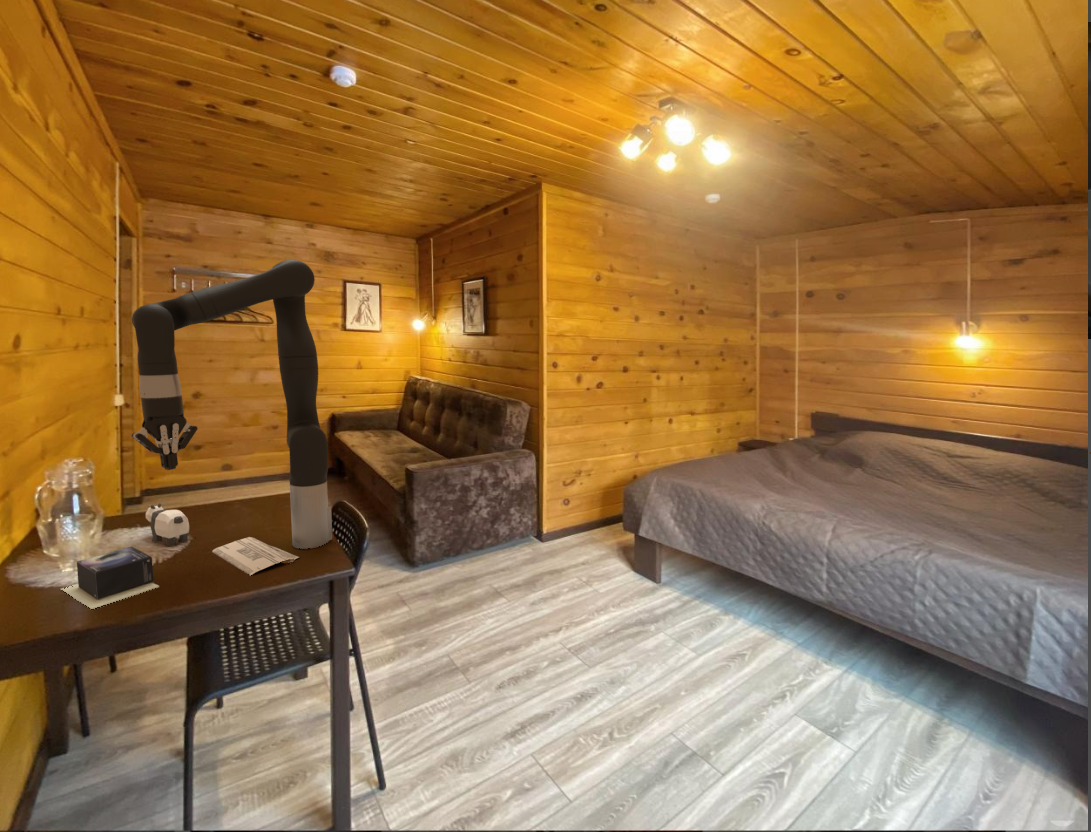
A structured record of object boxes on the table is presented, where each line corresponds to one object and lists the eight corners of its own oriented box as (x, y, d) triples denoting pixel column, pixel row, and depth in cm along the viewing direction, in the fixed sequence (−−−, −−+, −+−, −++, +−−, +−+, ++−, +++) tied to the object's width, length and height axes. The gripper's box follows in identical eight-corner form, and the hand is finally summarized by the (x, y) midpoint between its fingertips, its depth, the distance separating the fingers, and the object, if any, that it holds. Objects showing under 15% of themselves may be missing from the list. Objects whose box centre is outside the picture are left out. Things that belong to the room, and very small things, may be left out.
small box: (152, 554, 117) (94, 572, 108) (155, 582, 118) (97, 601, 109) (131, 544, 122) (74, 560, 113) (134, 570, 123) (77, 588, 114)
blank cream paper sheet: (126, 570, 124) (126, 568, 124) (159, 587, 116) (159, 585, 116) (60, 590, 114) (60, 588, 114) (91, 610, 106) (91, 608, 106)
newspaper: (301, 562, 132) (300, 553, 132) (252, 583, 123) (250, 573, 122) (259, 539, 146) (258, 531, 145) (211, 557, 136) (210, 548, 136)
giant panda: (192, 541, 143) (190, 507, 141) (170, 548, 138) (168, 513, 136) (161, 531, 149) (158, 499, 147) (139, 538, 144) (136, 504, 142)
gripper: (134, 398, 110) (144, 478, 113) (201, 392, 121) (209, 464, 124) (118, 396, 114) (128, 473, 116) (185, 391, 125) (192, 461, 128)
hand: (170, 469), depth 120 cm, fingers closed
